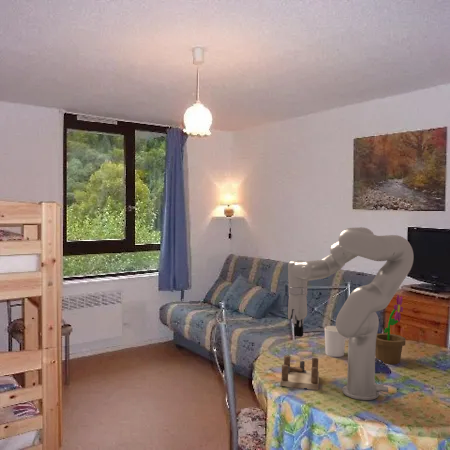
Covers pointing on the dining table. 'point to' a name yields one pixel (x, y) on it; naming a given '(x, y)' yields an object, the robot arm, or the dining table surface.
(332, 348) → the white paper cup
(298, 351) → the dining table surface
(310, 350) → the dining table surface
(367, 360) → the robot arm
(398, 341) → the flowerpot
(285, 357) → the hinged leg
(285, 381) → the stool
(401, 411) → the dining table surface
